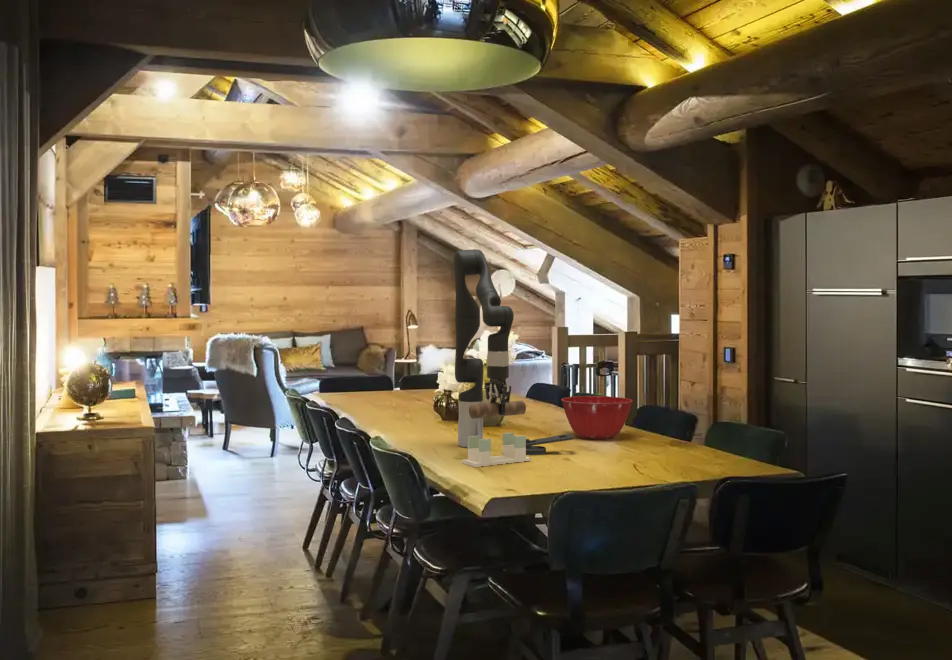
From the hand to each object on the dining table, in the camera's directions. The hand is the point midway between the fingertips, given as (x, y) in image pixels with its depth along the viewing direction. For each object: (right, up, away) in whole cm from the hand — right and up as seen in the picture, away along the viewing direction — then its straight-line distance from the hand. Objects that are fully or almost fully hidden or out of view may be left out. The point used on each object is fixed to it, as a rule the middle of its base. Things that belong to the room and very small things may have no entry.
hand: (497, 413), depth 316 cm
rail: (0, -1, 0) cm, 1 cm away
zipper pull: (+16, -16, +18) cm, 29 cm away
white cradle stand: (0, -17, 0) cm, 17 cm away
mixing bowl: (+41, -15, +57) cm, 72 cm away
